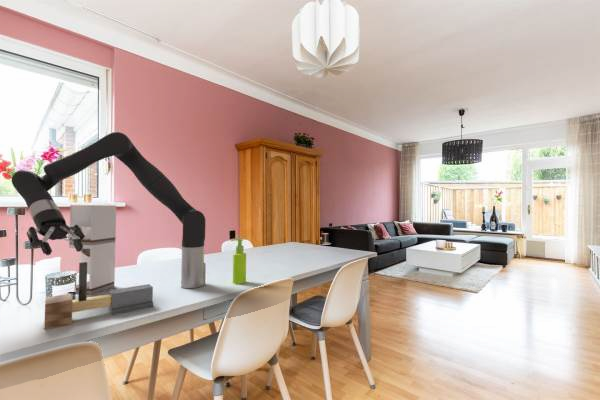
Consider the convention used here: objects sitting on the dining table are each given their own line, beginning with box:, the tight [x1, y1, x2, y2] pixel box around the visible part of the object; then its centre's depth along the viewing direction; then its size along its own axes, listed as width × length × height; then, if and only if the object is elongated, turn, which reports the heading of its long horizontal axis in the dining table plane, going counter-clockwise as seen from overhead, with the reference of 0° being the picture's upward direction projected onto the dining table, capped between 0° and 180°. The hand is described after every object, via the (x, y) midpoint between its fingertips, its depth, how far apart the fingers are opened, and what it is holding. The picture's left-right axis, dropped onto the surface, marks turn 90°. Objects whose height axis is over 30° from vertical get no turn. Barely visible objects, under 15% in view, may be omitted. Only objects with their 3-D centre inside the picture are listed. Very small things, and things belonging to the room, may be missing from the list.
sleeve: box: [108, 283, 154, 316], centre depth 97 cm, size 12×7×6 cm, turn 131°
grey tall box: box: [68, 204, 117, 295], centre depth 119 cm, size 11×11×35 cm
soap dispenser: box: [230, 238, 247, 285], centre depth 131 cm, size 6×7×20 cm
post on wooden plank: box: [72, 262, 112, 314], centre depth 90 cm, size 18×3×14 cm, turn 131°
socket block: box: [43, 293, 73, 330], centre depth 85 cm, size 6×8×7 cm
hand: (65, 251), depth 92 cm, fingers open, 8 cm apart
